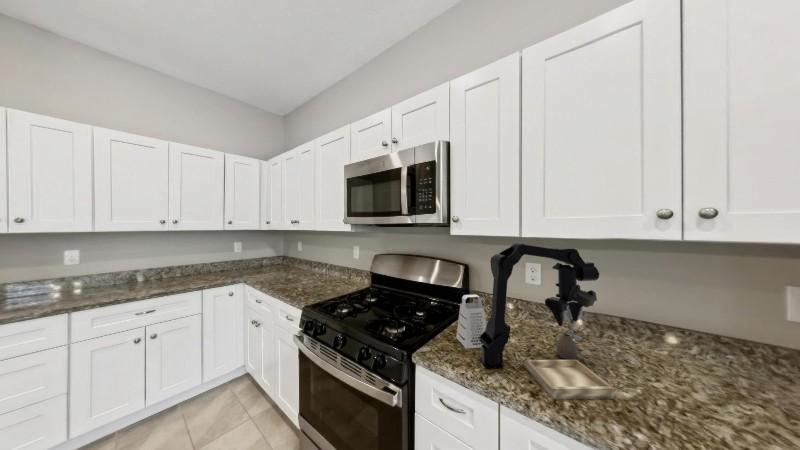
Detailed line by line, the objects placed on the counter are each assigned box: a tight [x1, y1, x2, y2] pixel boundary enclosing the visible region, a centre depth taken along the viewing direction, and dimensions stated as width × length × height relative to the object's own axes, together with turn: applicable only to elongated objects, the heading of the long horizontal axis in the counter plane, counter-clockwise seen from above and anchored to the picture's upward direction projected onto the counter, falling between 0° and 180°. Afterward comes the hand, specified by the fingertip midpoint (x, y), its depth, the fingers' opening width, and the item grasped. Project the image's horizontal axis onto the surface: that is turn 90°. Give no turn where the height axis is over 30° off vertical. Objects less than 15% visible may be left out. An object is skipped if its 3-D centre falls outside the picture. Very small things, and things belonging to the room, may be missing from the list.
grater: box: [455, 294, 487, 350], centre depth 111 cm, size 10×10×20 cm
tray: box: [525, 359, 616, 400], centre depth 82 cm, size 18×16×3 cm
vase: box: [555, 333, 579, 360], centre depth 97 cm, size 7×7×9 cm
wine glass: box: [564, 304, 584, 341], centre depth 115 cm, size 8×8×15 cm
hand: (568, 323), depth 95 cm, fingers open, 9 cm apart
